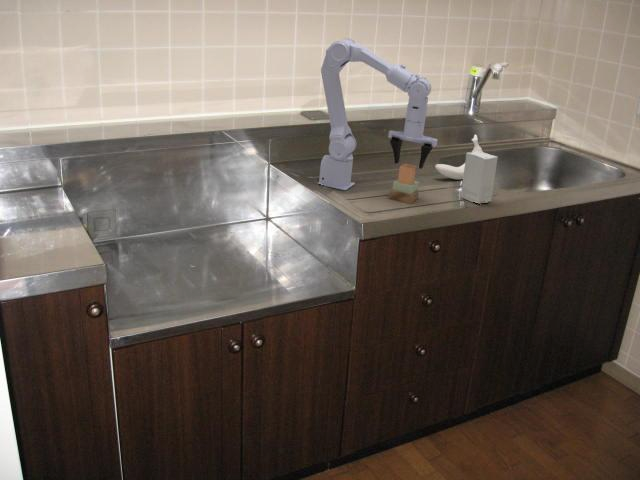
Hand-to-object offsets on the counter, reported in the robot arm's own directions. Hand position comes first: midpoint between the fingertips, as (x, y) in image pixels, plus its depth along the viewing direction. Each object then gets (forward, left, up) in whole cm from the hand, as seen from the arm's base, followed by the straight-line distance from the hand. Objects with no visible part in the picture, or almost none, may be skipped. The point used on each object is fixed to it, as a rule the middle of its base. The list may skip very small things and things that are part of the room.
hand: (408, 165), depth 211 cm
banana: (+9, +32, -11) cm, 35 cm away
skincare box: (+19, +13, -11) cm, 25 cm away
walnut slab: (0, 0, -11) cm, 11 cm away
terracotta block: (0, 0, -5) cm, 5 cm away
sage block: (0, 0, -8) cm, 8 cm away
